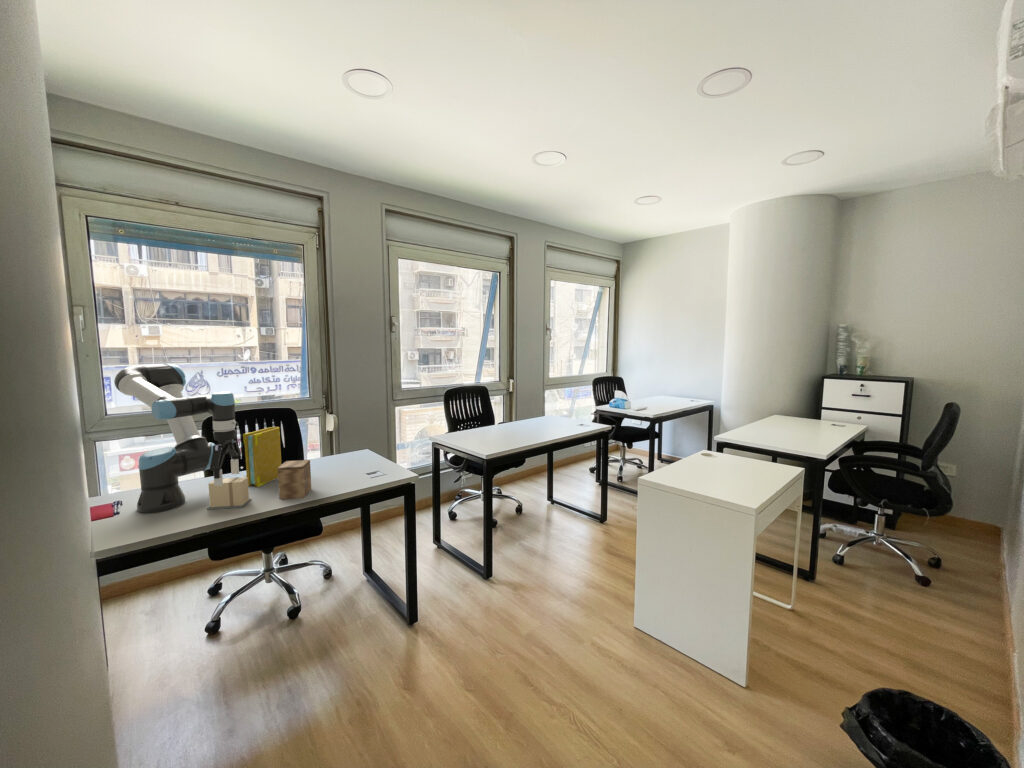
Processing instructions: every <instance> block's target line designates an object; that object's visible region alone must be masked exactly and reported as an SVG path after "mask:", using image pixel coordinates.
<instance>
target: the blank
mask: <svg viewBox="0 0 1024 768" xmlns="http://www.w3.org/2000/svg"><path fill="white" fill-rule="evenodd" d="M249 491H250V490H249V486H248V477H246V476H245V477H238V476H237V477H225V478H223V485H222V486H214V480H212V481H210V482H209V483H208V494H209V495H208V496H209V507H224V506H240V505H244V504H245V503H246V502H247V501H248V500H249V499H250V492H249Z"/></svg>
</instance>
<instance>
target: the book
mask: <svg viewBox="0 0 1024 768" xmlns="http://www.w3.org/2000/svg"><path fill="white" fill-rule="evenodd" d="M242 437H243V438H242V439H243V445H244V457H245V469H246V470H245V471H246V476H245V477H248V487H251V486H253V485H254V486H255V487H256V488H259V487H262V486H264V485H265V484H268V483H269V482H271V481H273V480H278V467H280V466H281V465H282V450H281V448H282V447H281V431H280V426H270V427H265V428H262V429H257V430H255V431H252V432H251V431H250V432H246V433H243V434H242Z"/></svg>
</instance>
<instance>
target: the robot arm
mask: <svg viewBox="0 0 1024 768" xmlns="http://www.w3.org/2000/svg"><path fill="white" fill-rule="evenodd" d="M186 382H187V379H186V374H185V372H184V371H183V369H182V368H181V367H180V366H179V365H176V364H174V363H173V364H171V363H161V364H144V365H143V364H142V365H137V364H136V365H131V366H127V367H125V368H123V369H121V370H120V371H118V373H117V374H116V375H115V377H114V386H115V388H116V389H117V390H118V391H119V392H120V393H122V394H123V395H126V396H130V397H134V398H135V399H137V400H139V401H140V402H142V403H144V404H145V405H147V406H148V407H150V408H151V413H152V416H153V417H154V419H156V420H158V421H159V420H166V421H167V423H168V426H169V429H170V431H171V433H172V436H173V438H174V441H175V443H176V444H175V446H173V447H172V446H166V447H160V448H155V449H152V450H148V451H147V452H144V453H143V454H141V456H139V458H138V471H139V480H140V490H141V491H140V494H139V497H138V501H137V504H136V511H137V513H141V514H153V513H159V512H164V511H165V512H166V511H169V510H172V509H175V508H177V507H180V506H181V505H183V504H184V503H185V502H186V495H185V493H184V492H183V490H182V488H181V486H180V485H179V477H182V476H187V475H191V474H195V473H199V472H204V471H207V470H209V471H212V472H213V481H214V486H222V485H223V469H222V466H223V463H224V460H225V456H226V455H227V454H228V455H229V456H230V458H231V459H230V470H231V471H230V472H231V475H239V474H240V466H239V463H240V462H239V459H242V452H241V450H240V446H239V444H238V442H237V441H238V439H237V430H236V429H235V428H236V425H237V421H236V411H235V410H236V409H235V403H236V402H235V396H234V394H233V393H232V391H217V392H212V394H208V393H205V394H198V395H197V396H188V397H184V396H183V393H182V392H183V390H184V387H185V386H186V384H187V383H186ZM205 414H206V415H207V414H209V415H210V414H211V415H212V430H213V431H212V434H213V441H216V442H217V444H215V442H208V441H207V438H206V437H205V436H201V435H200V433H199V431H198V427H197V425H196V422H195V420H194V418H193V416H199V415H205Z"/></svg>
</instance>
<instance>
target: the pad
mask: <svg viewBox="0 0 1024 768" xmlns="http://www.w3.org/2000/svg"><path fill="white" fill-rule="evenodd" d="M251 501H252V498H249V500H248V501H247V502H246V503H245V504H244V505H240V506H224V507H210V506H209V507H207V508H206V509H207V510H208V511H209V510H222V509H223V510H228V509H240V508H241V509H242V508H244V507H246V506H247V504H249V503H250V502H251Z"/></svg>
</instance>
